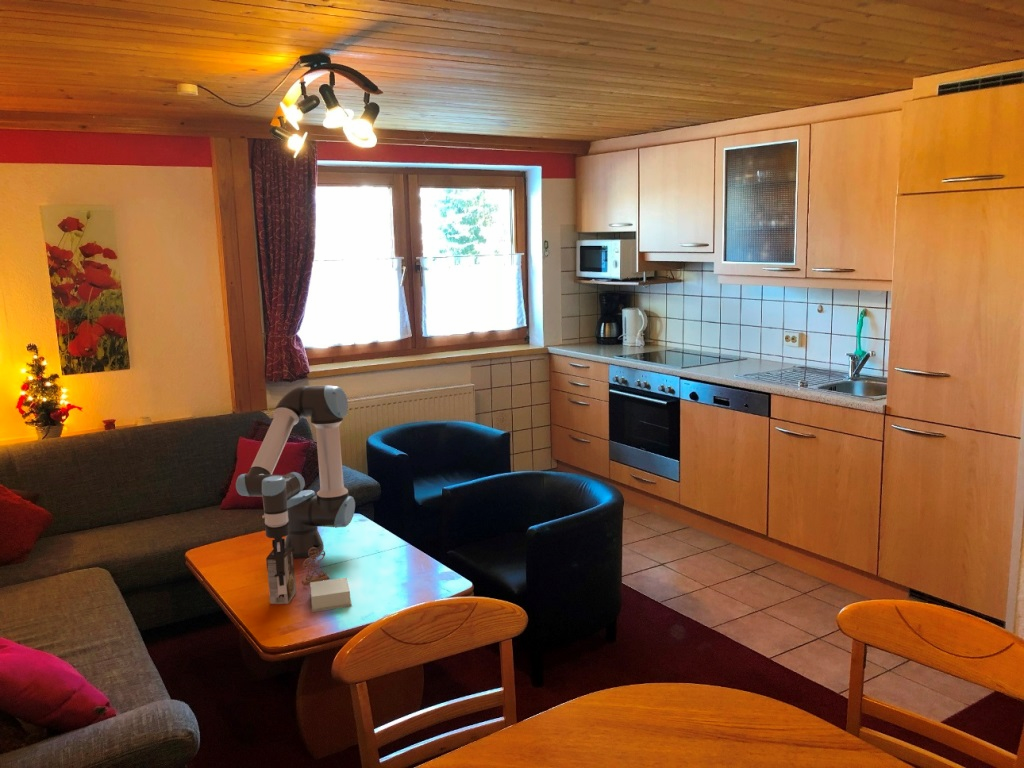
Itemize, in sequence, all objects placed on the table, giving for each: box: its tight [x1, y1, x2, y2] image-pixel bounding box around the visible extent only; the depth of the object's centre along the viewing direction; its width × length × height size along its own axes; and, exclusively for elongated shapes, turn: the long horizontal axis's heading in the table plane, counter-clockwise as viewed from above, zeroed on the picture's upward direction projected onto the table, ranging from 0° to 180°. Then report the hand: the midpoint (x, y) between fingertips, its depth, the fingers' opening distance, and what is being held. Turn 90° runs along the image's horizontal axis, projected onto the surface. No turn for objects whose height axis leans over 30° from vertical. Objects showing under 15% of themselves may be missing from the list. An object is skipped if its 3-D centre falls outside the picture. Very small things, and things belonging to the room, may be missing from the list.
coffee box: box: [265, 548, 297, 605], centre depth 271 cm, size 9×6×16 cm
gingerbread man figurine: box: [301, 547, 330, 586], centre depth 285 cm, size 9×4×12 cm, turn 121°
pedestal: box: [309, 577, 353, 613], centre depth 268 cm, size 13×13×5 cm
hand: (282, 587), depth 271 cm, fingers closed on coffee box, 10 cm apart
